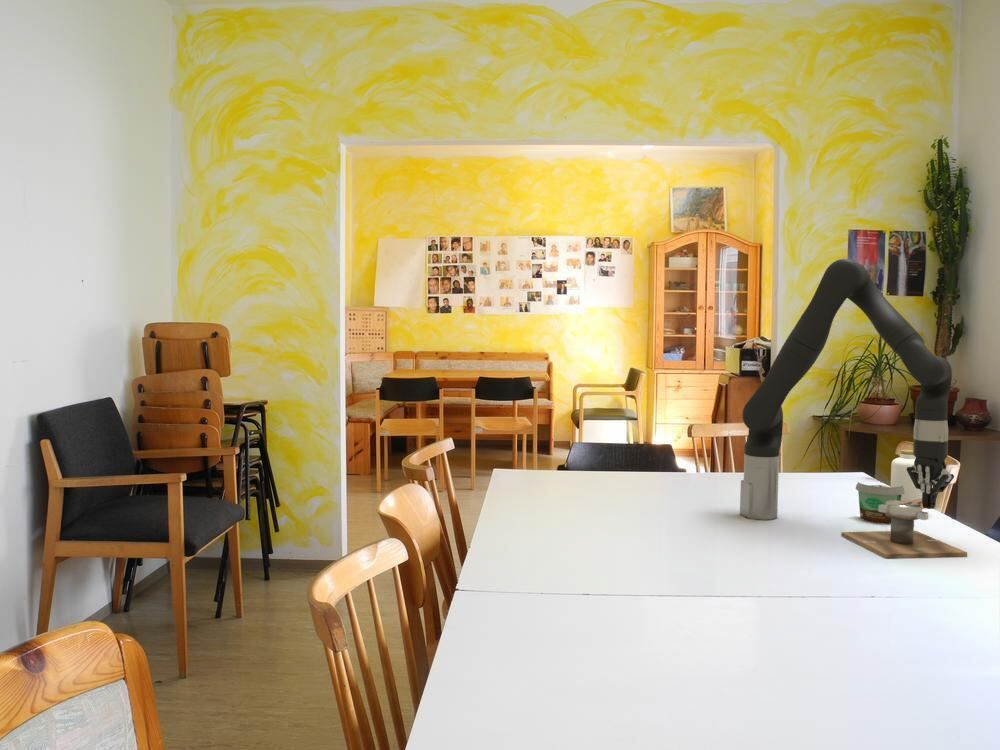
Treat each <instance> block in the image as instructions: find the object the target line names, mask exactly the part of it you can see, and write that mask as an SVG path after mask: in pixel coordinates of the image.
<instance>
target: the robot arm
mask: <svg viewBox="0 0 1000 750" xmlns="http://www.w3.org/2000/svg"><path fill="white" fill-rule="evenodd" d="M847 299H848V300H850V301H851V302H852V303H853V304H854V305H856V306H857V308H859V309H860V310H861V312H863V314H864V315H865V316H866V317H867V318H868V320H869V321H870V322H871V324H872V326H873V327H874V329H875V331H876V332H877V333H878V334H879V336H880V337H881V339H882V340H883V341H884V342H885V343H886V344H887V346H888V347H890V349H891V350H892V351H893V352H894V353H895V354H896V355H897V356H898V357H899V358H900V360H901V362H902V364H903V365H904V366H905V368H906V370H908V372H909V374H910V376H912V377H913V378H914V379H915V381H917V382H918V383H919V384H920V390H919V391H920V392H919V395H918V396H917V398H916V401H915V412H914V417H915V418H914V425H913V445H912V448H913V449H912V450H913V455H914V456H915V457H916V459H915V461H914V465H913V466H912V467H907V472H908V474H909V476H910V478H911V480H912V482H913V483H914V485H915V487H916V489H920V490H921V492H922V505H923V508H925V509H926V510H927V509H928V510H933V509H935V508H936V503H937V502H936V501H937V494H938V493H944V491H945V490H946V489H947V487H948V486H949V485H950V483H951V482H952V481H953V479H954V478H955V474H953V473H950V472H949V471H948V470H947V463H946V459H947V458H948V454H949V453H948V451H949V449H948V448H949V425H948V402H949V401H948V400H949V395H950V392H951V385H952V380H953V371H952V365H951V363H950V362H949V361H948V360H947V359H946V358H945V357H943V356H937V355H936V356H935V355H934V354H933V353H932V351H930V349H929V348H927V346H926V344H925V340H924V338H923V337H922V335H921V334H920V333H919V332H918V331H917V330H916V329H915V328H914V327H913V326H912V325H911V324H910V323H909V322H908V321H907V319H906V318H905V317H904V316H903V315H901V313H899V311H897V310H896V309H895V307H894V306H893V305H892V304H891V303H890V302H889V300H888V299H886V297H885V296H884V295H883V294H882V293H881V291H880V289H879V288H878V287H877V285H876V284H875V282H874V281H873V279H872V277H871V275H870V274H869V273H868V271H867V269H866V268H865V266H863V264H861V263H859V262H857V261H854V260H853V259H849V258H841V259H837V260H835V261H833V262H831V264H829V266H828V267H827V268H826V269H825V271H824V273H823V275H822V277H821V280H820V282H819V284H818V286H817V288H816V290H815V293H814V294H813V296H812V299H811V300H810V302H809V303H808V305H807V306H806V309H805V310H804V311H803V313H802V314H801V316H800V317H799V319H798V321H797V322H796V324H795V326H794V327H793V329H792V330H791V331H790V333H789V334H788V336H787V338H786V340H785V342H784V343H783V345H782V346H781V349H780V350H779V352H778V354H777V356H776V357H775V359H774V361H773V362H772V365H771V366H770V368H769V370H768V372H767V374H766V375H765V378H764V380H762V382H761V384H760V385H759V387H758V388H757V389H756V390H755V392H754V393H753V394H752V395H751V397H750V398H749V399H748V401H747V402H746V403H745V405H744V407H743V409H742V420H743V423H744V425H745V427H747V428H748V435H747V439H746V441H745V444H744V452H743V453H744V454H743V455H744V458H743V479H742V480H740V493H739V494H740V495H739V496H740V500H739V502H740V503H739V514H740V515H741V516H743V517H745V518H747V519H752V520H753V519H754V520H775V519H777V518H778V511H779V509H778V507H779V506H778V505H779V503H778V502H779V501H778V500H779V499H778V498H779V477H780V476H779V473H780V471H779V470H780V469H779V468H780V449H781V447H782V441H783V427H784V425H783V424H784V412H783V408H782V407H783V406H782V405H783V404H784V402H785V400H786V398H787V396H788V395H789V394H790V392H791V391H792V390H793V388H794V387H795V386H796V385H797V384H798V383H799V382H800V381H801V380H802V379H803V378H804V376H806V374H808V372H809V371H810V370H811V368H812V367H813V366H814V364H815V363H816V361H817V360H818V358H819V356H820V355H821V354H822V352H823V350H824V348H825V345H826V343H827V341H828V338H829V335H830V332H831V328H832V325H833V322H834V319H835V317H836V315H837V313H838V311H839V310H840V308H841V307H842V305H844V302H845V301H846V300H847ZM918 481H919V482H918ZM919 483H920V484H919Z"/></svg>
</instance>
